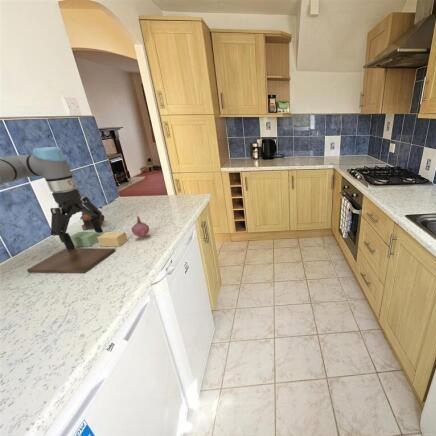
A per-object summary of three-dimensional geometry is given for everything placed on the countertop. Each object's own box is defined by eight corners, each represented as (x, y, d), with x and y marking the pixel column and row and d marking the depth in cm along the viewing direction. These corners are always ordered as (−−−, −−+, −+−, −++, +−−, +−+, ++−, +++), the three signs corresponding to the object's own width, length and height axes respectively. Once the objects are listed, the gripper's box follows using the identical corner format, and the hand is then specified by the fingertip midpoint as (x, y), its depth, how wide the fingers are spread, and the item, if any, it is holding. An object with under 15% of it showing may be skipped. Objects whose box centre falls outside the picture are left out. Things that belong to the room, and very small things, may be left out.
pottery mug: (75, 231, 111) (73, 213, 112) (96, 231, 120) (94, 215, 121) (96, 226, 108) (94, 208, 109) (116, 226, 118) (113, 209, 118)
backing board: (28, 272, 81) (26, 269, 80) (66, 250, 94) (65, 248, 93) (85, 273, 80) (83, 270, 79) (115, 251, 93) (114, 248, 92)
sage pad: (71, 246, 97) (67, 237, 95) (82, 240, 102) (78, 231, 100) (90, 246, 97) (87, 237, 95) (100, 240, 101) (97, 231, 100)
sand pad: (100, 246, 96) (96, 237, 95) (109, 240, 101) (106, 231, 99) (119, 246, 96) (116, 237, 94) (127, 240, 100) (125, 231, 99)
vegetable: (153, 236, 103) (147, 215, 99) (138, 242, 98) (131, 220, 94) (147, 233, 106) (141, 211, 102) (132, 238, 102) (125, 216, 98)
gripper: (40, 201, 79) (67, 256, 87) (100, 181, 102) (116, 226, 110) (18, 201, 79) (47, 256, 87) (83, 181, 102) (101, 227, 110)
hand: (86, 240), depth 99 cm, fingers open, 13 cm apart
